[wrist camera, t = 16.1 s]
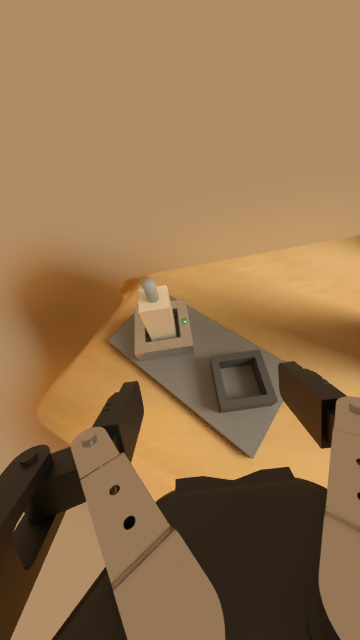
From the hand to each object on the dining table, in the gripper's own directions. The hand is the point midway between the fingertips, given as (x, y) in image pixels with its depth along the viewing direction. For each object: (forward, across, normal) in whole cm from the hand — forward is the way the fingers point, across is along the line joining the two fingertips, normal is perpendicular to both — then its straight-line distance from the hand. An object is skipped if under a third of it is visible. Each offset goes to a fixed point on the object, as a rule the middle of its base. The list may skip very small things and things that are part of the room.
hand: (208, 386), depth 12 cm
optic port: (+24, +5, +4) cm, 25 cm away
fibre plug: (+24, +5, +4) cm, 25 cm away
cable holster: (+17, -5, +11) cm, 21 cm away
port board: (+22, 0, +8) cm, 24 cm away
